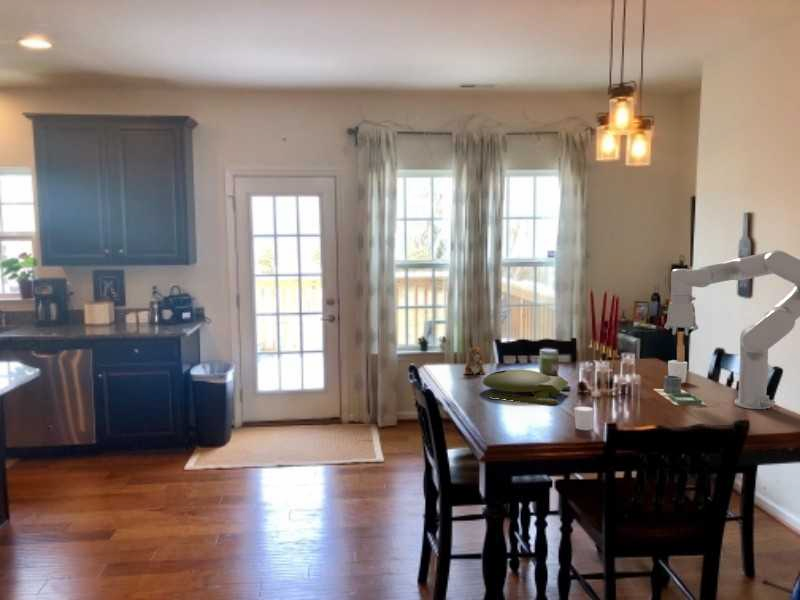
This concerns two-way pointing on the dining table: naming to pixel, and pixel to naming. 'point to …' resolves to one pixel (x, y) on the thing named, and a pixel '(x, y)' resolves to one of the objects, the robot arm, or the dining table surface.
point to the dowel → (680, 347)
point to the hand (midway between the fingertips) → (680, 344)
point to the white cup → (677, 369)
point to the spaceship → (526, 385)
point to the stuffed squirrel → (475, 362)
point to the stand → (678, 392)
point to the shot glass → (584, 417)
